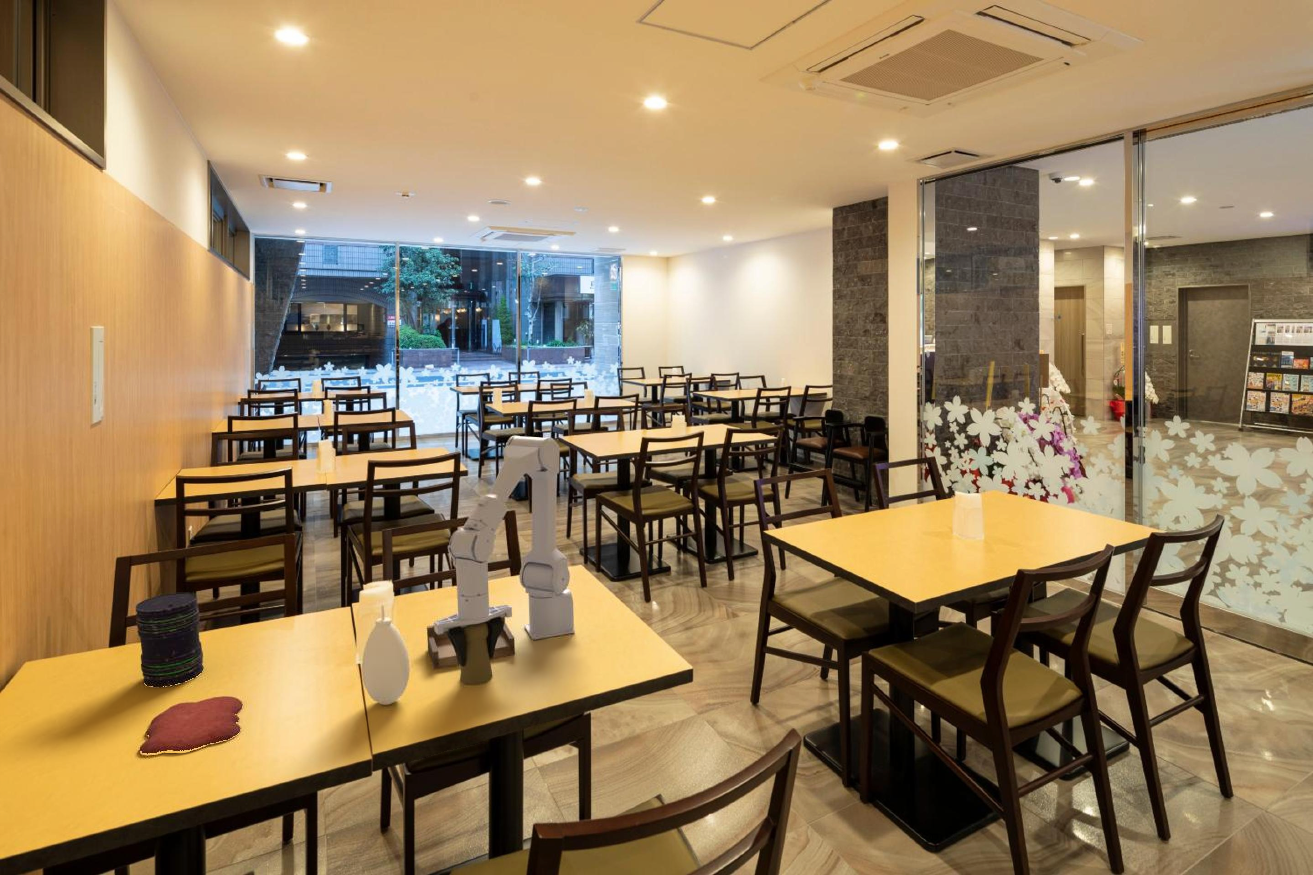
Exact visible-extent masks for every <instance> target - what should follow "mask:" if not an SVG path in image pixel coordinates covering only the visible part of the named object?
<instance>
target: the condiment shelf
mask: <svg viewBox="0 0 1313 875" xmlns="http://www.w3.org/2000/svg"><path fill="white" fill-rule="evenodd" d="M501 620H502V621H503V622H504V628H503V629H502V631H501V633H500V635H499V637H498V640H497V643H496V646H495V650H494V655H493V658H492V659H497V658H502V657H508V656H513V655H515V654H516V650H515V649H516V647H515V645H516V644H515V643H516V642H515V641H516V640H515V637H514V635H513V634H512V631H511V630H510V629H509V627H508V625H507V624H506V617H503V618H501ZM426 636H427V652H428V653H429V654H428V655H429V657H430V661H431V663H432V664H431V665H432V668H433V670H436V669H443V668H448V667H455V666H460V665H459V664H458V660H457V656H456V653H455V650H454V647H453V645H452V643H451V641H450V639H449V637H448V636H447V634H446V632H443V634H439V635H438V634H437V633H436V632H435V630H434V624H433V625H428V626H426Z"/></svg>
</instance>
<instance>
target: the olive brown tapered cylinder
mask: <svg viewBox="0 0 1313 875" xmlns="http://www.w3.org/2000/svg"><path fill="white" fill-rule="evenodd" d="M461 629H462V630H463V633H464V634H465V635H466V639H465V660H466V662H465V666H462V667H461V666H460V673H459V674H460V675H459V676H460V677H459V679H460V682H461V683H462V684H465V685H467V686H468V685H469V686H477V685H482V684H485V683H488V682H489V681H491V679H492V678H493V670H492V665H491V659H490V658H489V653H488V647H487V642H486V637H487V636H488V632H489V628H488V625H487V623H486V622H482V623H478V624H470V625H467V626H466V627H462V628H461Z"/></svg>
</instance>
